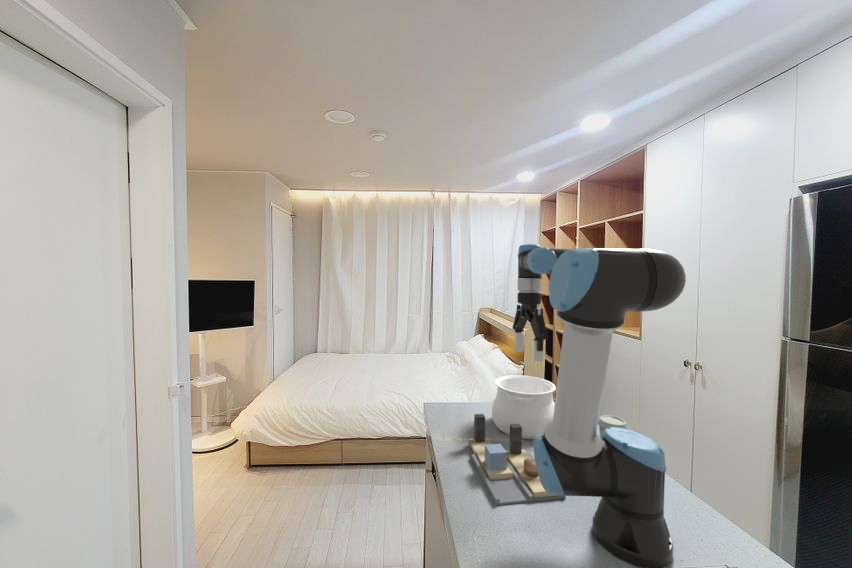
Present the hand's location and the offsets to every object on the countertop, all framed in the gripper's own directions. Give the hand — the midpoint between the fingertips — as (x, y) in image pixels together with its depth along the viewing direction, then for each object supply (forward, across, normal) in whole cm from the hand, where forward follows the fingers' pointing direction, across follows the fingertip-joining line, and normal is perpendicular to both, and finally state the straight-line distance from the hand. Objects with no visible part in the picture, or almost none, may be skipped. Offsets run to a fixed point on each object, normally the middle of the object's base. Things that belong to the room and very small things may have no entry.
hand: (528, 355), depth 113 cm
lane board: (+32, -14, +11) cm, 36 cm away
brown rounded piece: (+29, -16, +6) cm, 34 cm away
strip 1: (+31, -5, +15) cm, 35 cm away
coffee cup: (+32, -8, -25) cm, 41 cm away
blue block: (+29, -11, +15) cm, 35 cm away
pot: (+32, +16, -7) cm, 36 cm away
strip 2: (+32, -14, +6) cm, 35 cm away
